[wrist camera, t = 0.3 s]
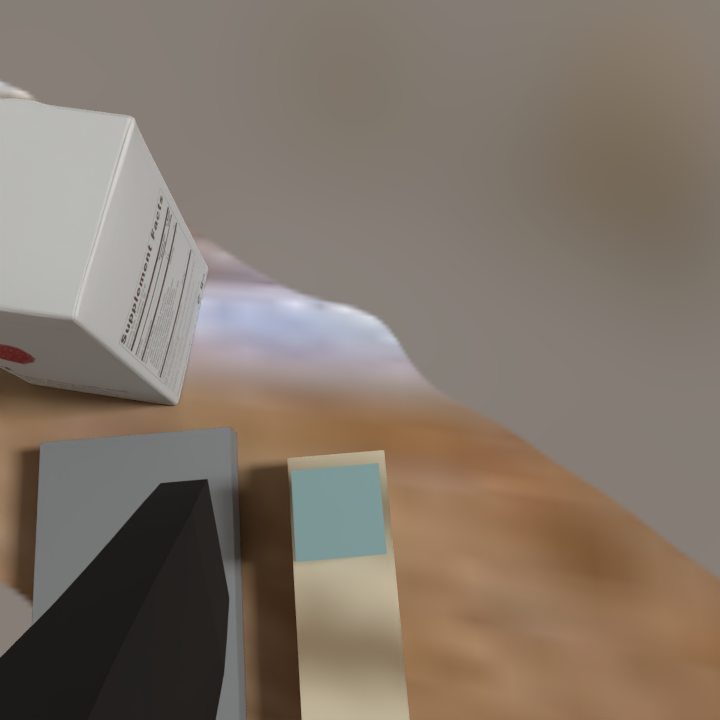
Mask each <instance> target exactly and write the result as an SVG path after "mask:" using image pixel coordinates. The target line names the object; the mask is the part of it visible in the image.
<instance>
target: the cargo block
mask: <svg viewBox="0 0 720 720" xmlns="http://www.w3.org/2000/svg"><path fill="white" fill-rule="evenodd" d="M291 483H292V500H293V518H294V536H295V554H296V562H303V561H315V560H326V559H337V558H349V557H360V556H371V555H383V554H387V550H386V539H385V528H384V517H383V507H382V496H381V485H380V474H379V463H374V464H362V465H351V466H339V467H327V468H315V469H304V470H292V471H291Z"/></svg>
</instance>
